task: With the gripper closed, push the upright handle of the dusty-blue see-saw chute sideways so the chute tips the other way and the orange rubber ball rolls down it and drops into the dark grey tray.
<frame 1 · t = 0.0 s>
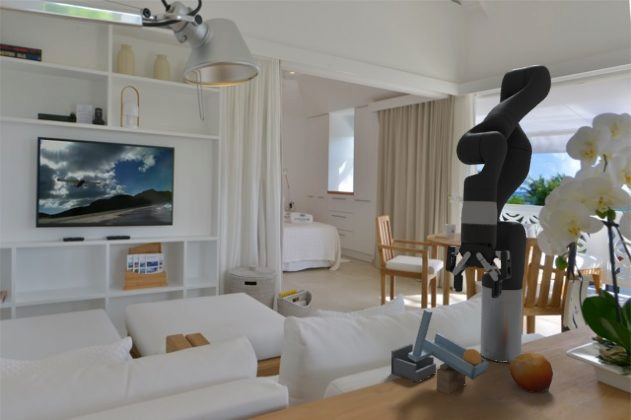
hand: (476, 294, 98), 17 cm above the table, tool pointing down, fingers open, 8 cm apart
fulcrum: (451, 386, 89), on the table
ball: (471, 358, 86), point 7 cm above the table, tilted 9°, touching lever
fruit: (530, 388, 90), on the table
lever: (451, 362, 89), point 5 cm above the table, hinge at -15.0°, touching ball
tray: (413, 373, 96), on the table
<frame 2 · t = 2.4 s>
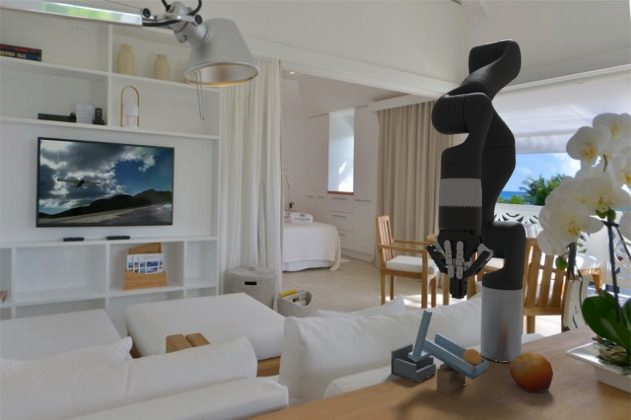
hand: (457, 298, 81), 20 cm above the table, tool pointing down, fingers closed
nothing on the table moved.
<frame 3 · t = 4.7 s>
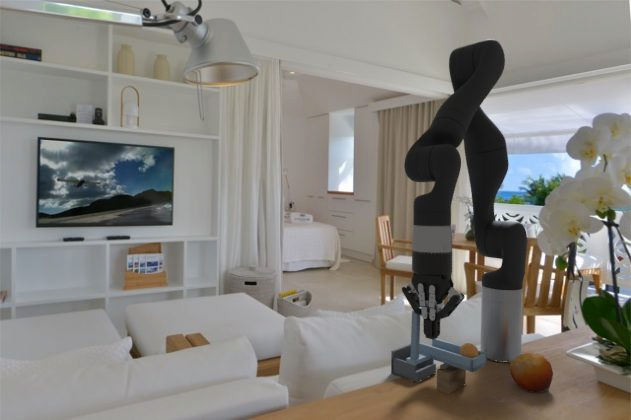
hand: (431, 337, 85), 11 cm above the table, tool pointing down, fingers closed
ball: (469, 352, 86), point 8 cm above the table, tilted 5°, touching lever
lever: (451, 362, 89), point 5 cm above the table, hinge at -1.0°, touching ball, gripper, hand
everything else where it was.
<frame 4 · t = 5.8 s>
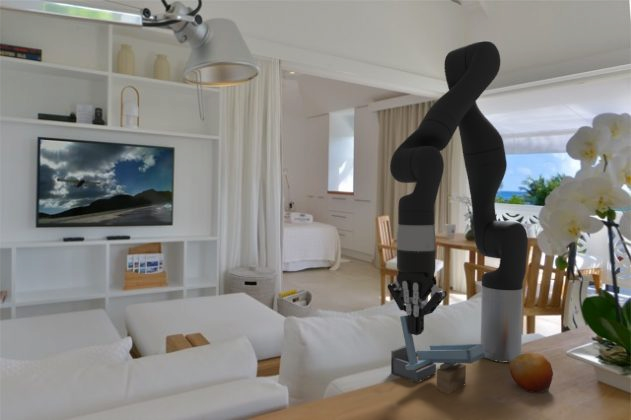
hand: (415, 333, 87), 11 cm above the table, tool pointing down, fingers closed
ball: (416, 365, 95), point 2 cm above the table, tilted 17°, touching tray
lever: (451, 362, 89), point 5 cm above the table, hinge at 15.0°, touching gripper
everything else where it was.
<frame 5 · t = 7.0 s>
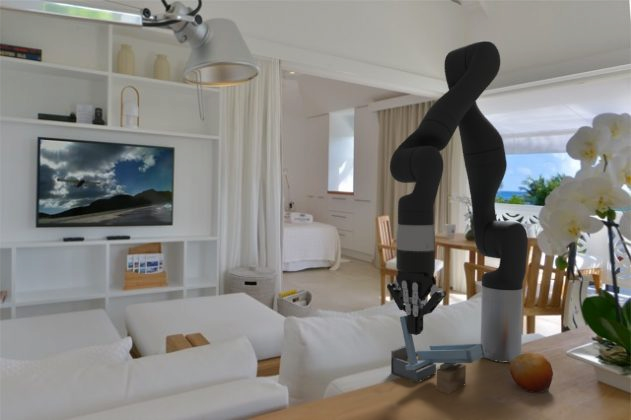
hand: (415, 333, 88), 11 cm above the table, tool pointing down, fingers closed
ball: (414, 364, 96), point 2 cm above the table, tilted 40°, touching tray
lever: (451, 362, 89), point 5 cm above the table, hinge at 15.5°, touching gripper
everything else where it was.
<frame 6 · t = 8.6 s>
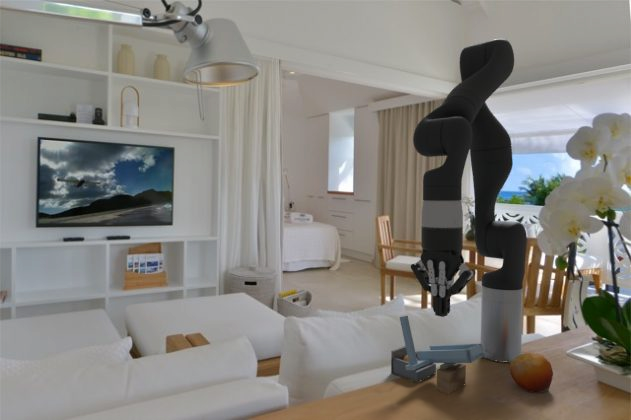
hand: (441, 315, 83), 16 cm above the table, tool pointing down, fingers closed
ball: (410, 362, 97), point 2 cm above the table, tilted 70°, touching tray
lever: (451, 362, 89), point 5 cm above the table, hinge at 15.9°
everything else where it was.
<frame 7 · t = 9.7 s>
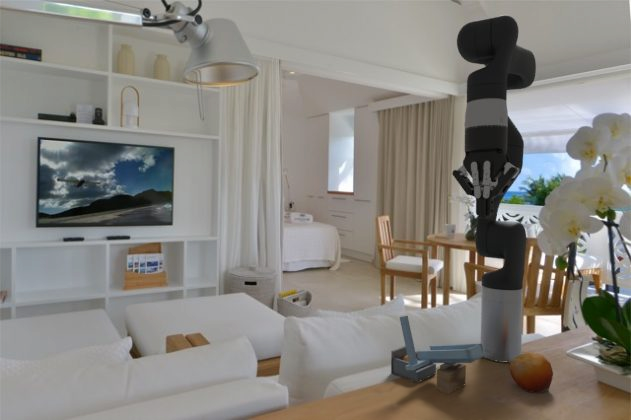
hand: (484, 218, 83), 35 cm above the table, tool pointing down, fingers closed
nothing on the table moved.
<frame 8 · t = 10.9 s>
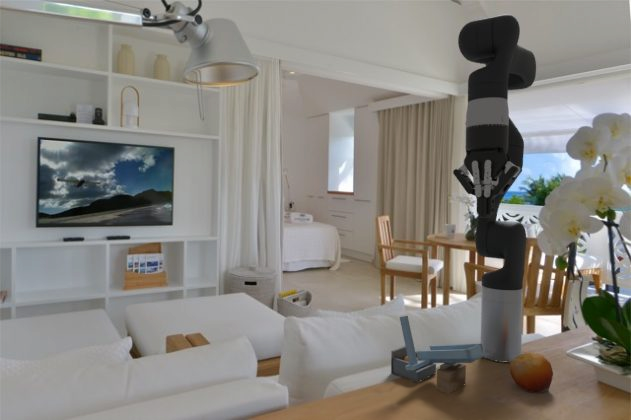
hand: (485, 217, 83), 35 cm above the table, tool pointing down, fingers closed
ball: (411, 363, 96), point 2 cm above the table, tilted 64°, touching tray
everything else where it was.
at the end: ball 0.6 cm off-centre on the tray, point 2.1 cm above the tray's base; ball touching tray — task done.
